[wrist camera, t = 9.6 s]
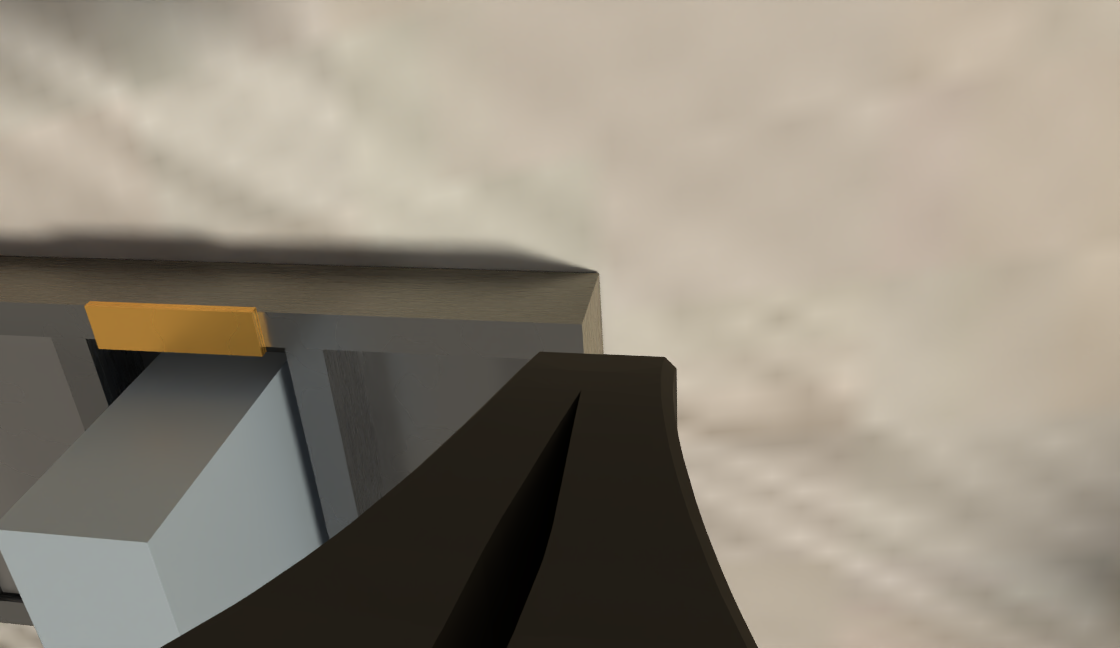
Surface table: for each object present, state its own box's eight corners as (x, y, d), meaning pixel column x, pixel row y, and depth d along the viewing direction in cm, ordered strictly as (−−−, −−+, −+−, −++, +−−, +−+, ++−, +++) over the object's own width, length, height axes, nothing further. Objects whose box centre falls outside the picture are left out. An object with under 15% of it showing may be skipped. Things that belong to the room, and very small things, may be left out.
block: (165, 347, 23) (-9, 528, 18) (292, 353, 22) (147, 542, 17) (231, 563, 26) (97, 768, 21) (343, 573, 26) (233, 787, 21)
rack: (618, 624, 26) (604, 697, 24) (28, 568, 29) (-25, 628, 27) (598, 268, 21) (580, 325, 19) (-111, 249, 24) (-187, 295, 22)
